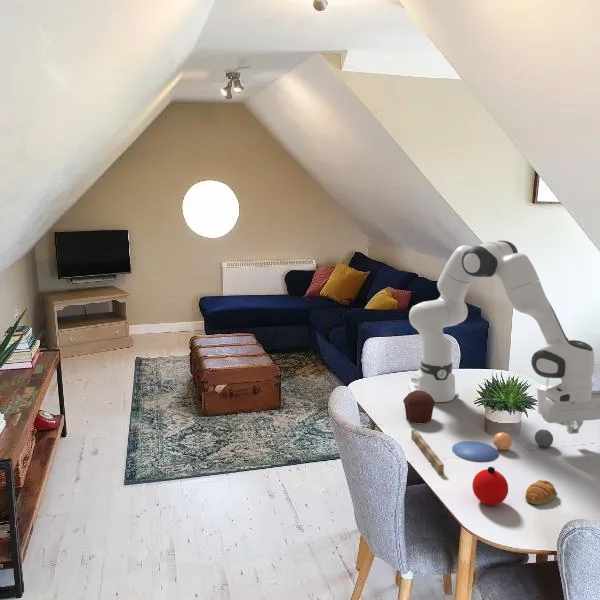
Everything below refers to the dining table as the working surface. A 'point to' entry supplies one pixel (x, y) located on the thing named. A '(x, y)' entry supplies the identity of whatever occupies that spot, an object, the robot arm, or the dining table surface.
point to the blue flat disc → (475, 451)
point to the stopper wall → (427, 452)
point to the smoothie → (541, 395)
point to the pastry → (540, 492)
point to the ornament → (490, 486)
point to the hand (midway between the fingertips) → (572, 433)
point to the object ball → (502, 441)
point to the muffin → (419, 407)
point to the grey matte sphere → (543, 438)
